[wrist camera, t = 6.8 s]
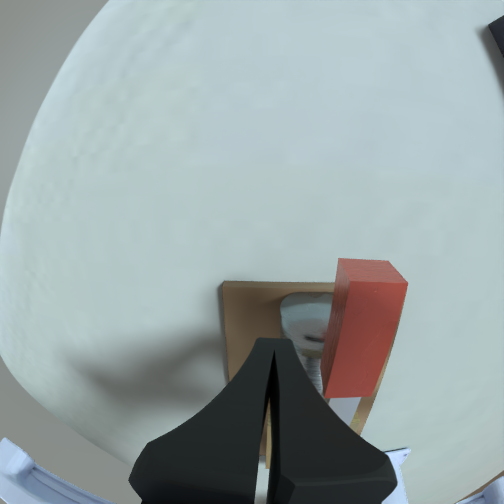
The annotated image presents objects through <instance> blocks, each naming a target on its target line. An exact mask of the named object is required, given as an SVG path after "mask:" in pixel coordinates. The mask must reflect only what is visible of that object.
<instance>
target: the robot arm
mask: <svg viewBox="0 0 504 504" xmlns="http://www.w3.org/2000/svg"><path fill="white" fill-rule="evenodd" d="M269 398H270V421H271V459H270V471H269V482H268V492H267V502H266V504H408V500H407V495H406V491H405V486H404V482H403V478H402V474H401V470H400V465H401V464H402V463H403V461H404V460H405V459H406V457H407V456H408V454H409V453H410V449H409V448H407V449H402V450H397V451H391V452H386V453H384V452H382V451H380V450H379V449H377V448H376V447H374V446H373V445H371V444H370V443H368V442H367V441H366V440H364V439H363V438H362V437H360V436H359V435H358V434H357V433H356V432H355V431H353V430H352V429H351V428H350V427H349V426H348V425H347V424H346V423H345V422H344V421H343V420H342V419H341V418H340V417H339V416H338V415H337V414H336V413H335V412H334V411H333V410H332V408H331V407H330V406H329V405H328V404H327V402H326V401H325V400H324V399H323V397H322V396H321V395H320V393H319V392H318V390H317V389H316V387H315V386H314V384H313V383H312V381H311V379H310V378H309V376H308V374H307V373H306V371H305V369H304V367H303V365H302V363H301V361H300V359H299V357H298V355H297V352H296V350H295V347H294V344H293V341H292V340H291V339H279V338H263V337H259V338H257V339H256V341H255V344H254V346H253V348H252V350H251V352H250V354H249V355H248V357H247V359H246V360H245V362H244V363H243V365H242V366H241V368H240V369H239V371H238V372H237V373H236V375H235V376H234V377H233V378H232V380H231V381H230V382H229V383H228V385H227V386H226V387H225V388H224V389H223V390H222V391H221V392H220V393H219V394H218V395H217V396H216V397H215V398H214V399H213V400H212V401H211V402H210V403H209V404H208V405H207V406H205V407H204V408H203V409H202V410H201V411H200V412H198V413H197V414H196V415H194V416H193V417H192V418H190V419H189V420H187V421H186V422H184V423H183V424H181V425H180V426H178V427H177V428H175V429H173V430H172V431H170V432H168V433H166V434H164V435H162V436H160V437H159V438H157V439H155V440H153V441H151V442H148V443H147V445H146V446H145V448H144V449H143V450H142V452H141V454H140V455H139V457H138V458H137V460H136V462H135V464H134V467H133V469H132V472H131V474H130V477H129V480H128V481H129V483H130V485H131V486H132V488H133V489H134V490H135V491H136V493H137V494H138V495H139V497H141V499H142V502H141V504H254V500H255V491H256V482H257V473H258V463H259V453H260V444H261V439H262V434H263V429H264V424H265V419H266V414H267V408H268V403H269ZM0 498H1V499H3V500H4V501H5V502H6V503H7V504H116V503H113V502H110V501H108V500H106V499H103V498H101V497H99V496H96V495H94V494H92V493H90V492H87V491H85V490H83V489H81V488H79V487H77V486H75V485H73V484H71V483H69V482H67V481H65V480H63V479H61V478H60V477H58V476H56V475H54V474H53V473H51V472H49V471H47V470H46V469H44V468H42V467H41V466H39V465H38V464H36V463H35V461H34V460H33V459H32V458H31V457H30V456H29V455H28V454H27V453H26V452H25V451H24V450H22V449H21V448H20V447H18V446H17V445H15V444H14V443H13V442H11V441H10V440H8V439H7V438H3V439H2V441H1V442H0ZM455 504H504V476H502V477H500V478H498V479H497V480H495V481H494V482H492V483H491V484H490V485H489V486H487V487H486V488H485V489H484V490H483V491H482V492H480V493H478V494H476V495H474V496H471V497H469V498H467V499H465V500H462V501H460V502H457V503H455Z"/></svg>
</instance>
